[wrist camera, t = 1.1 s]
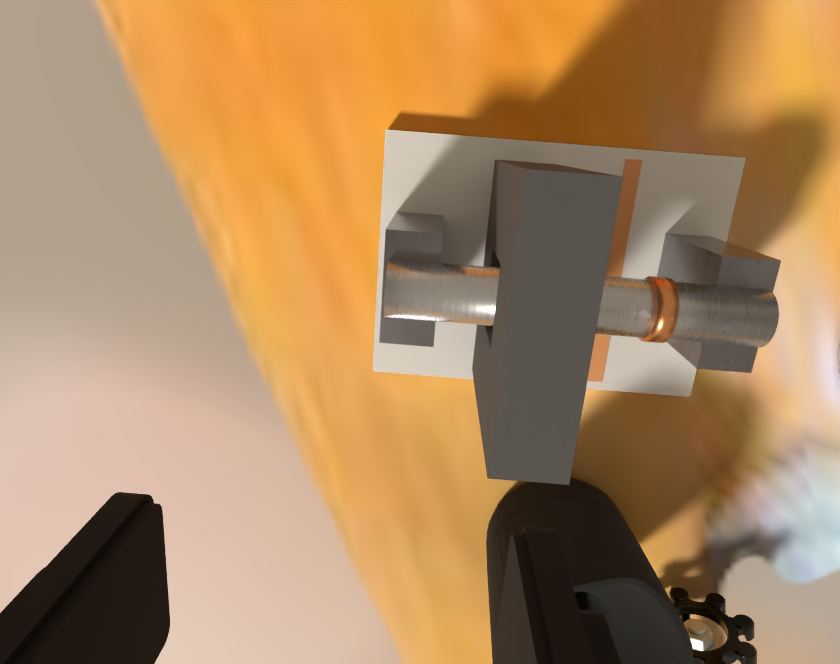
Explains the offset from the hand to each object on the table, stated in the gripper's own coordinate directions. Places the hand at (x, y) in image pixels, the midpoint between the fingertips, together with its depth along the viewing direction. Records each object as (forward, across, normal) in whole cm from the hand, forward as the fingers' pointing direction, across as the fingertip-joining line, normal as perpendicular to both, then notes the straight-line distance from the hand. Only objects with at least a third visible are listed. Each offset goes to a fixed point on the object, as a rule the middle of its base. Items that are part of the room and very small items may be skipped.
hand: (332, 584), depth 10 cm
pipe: (+24, -8, -2) cm, 25 cm away
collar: (+22, -6, -2) cm, 22 cm away
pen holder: (+24, -10, +16) cm, 30 cm away
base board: (+24, -8, -2) cm, 25 cm away
